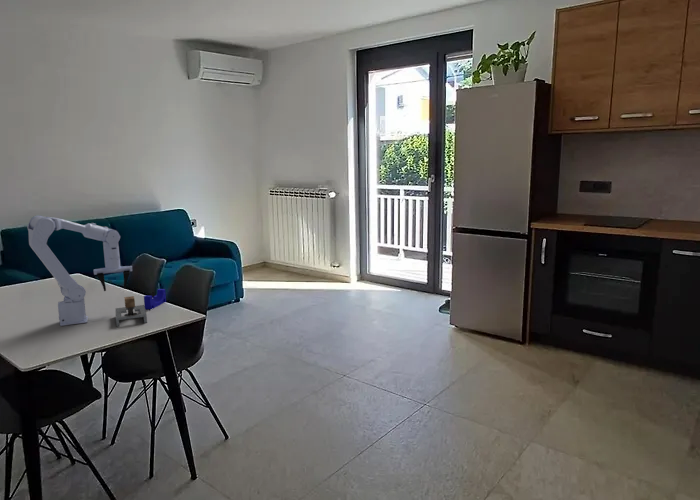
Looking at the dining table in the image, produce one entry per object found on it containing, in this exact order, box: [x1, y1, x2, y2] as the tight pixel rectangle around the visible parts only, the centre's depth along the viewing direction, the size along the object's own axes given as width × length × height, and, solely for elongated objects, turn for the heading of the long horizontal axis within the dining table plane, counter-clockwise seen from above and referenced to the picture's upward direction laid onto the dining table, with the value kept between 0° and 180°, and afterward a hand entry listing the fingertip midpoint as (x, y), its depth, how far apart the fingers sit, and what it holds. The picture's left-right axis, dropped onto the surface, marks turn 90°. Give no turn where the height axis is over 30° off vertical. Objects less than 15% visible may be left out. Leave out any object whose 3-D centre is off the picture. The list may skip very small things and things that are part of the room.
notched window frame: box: [115, 304, 148, 328], centre depth 204 cm, size 11×14×3 cm
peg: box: [123, 295, 138, 320], centre depth 207 cm, size 5×5×8 cm
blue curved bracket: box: [143, 288, 167, 310], centre depth 223 cm, size 12×4×6 cm, turn 169°
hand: (115, 289), depth 212 cm, fingers open, 7 cm apart
